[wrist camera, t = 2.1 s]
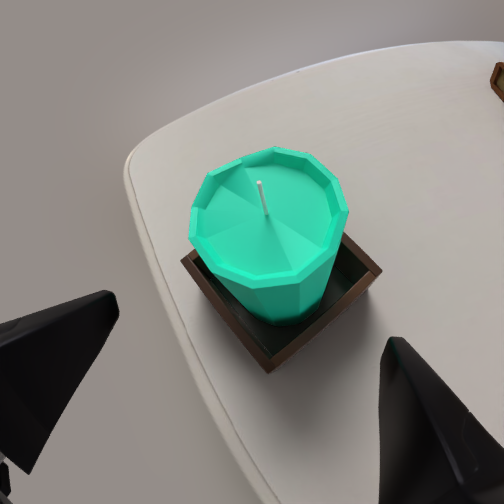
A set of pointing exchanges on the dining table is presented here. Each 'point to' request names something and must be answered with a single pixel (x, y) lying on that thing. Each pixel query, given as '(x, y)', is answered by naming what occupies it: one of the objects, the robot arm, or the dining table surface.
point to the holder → (360, 274)
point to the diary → (498, 80)
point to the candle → (271, 231)
